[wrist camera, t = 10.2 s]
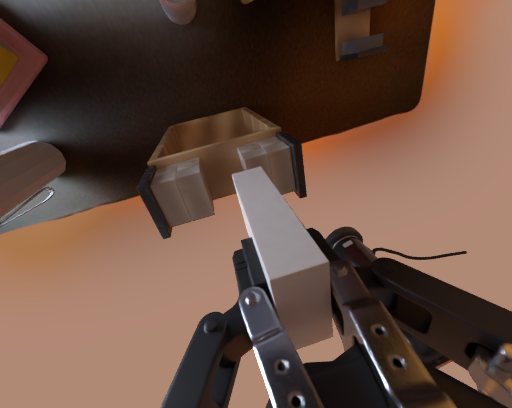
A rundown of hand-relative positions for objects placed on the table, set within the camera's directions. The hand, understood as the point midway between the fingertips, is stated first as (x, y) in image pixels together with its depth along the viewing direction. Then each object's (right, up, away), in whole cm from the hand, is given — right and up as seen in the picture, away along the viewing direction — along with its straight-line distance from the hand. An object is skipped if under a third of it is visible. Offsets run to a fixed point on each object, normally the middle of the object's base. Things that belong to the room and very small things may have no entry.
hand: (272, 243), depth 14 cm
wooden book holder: (-5, +7, +14) cm, 17 cm away
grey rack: (+17, +38, +28) cm, 50 cm away
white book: (-1, +3, +5) cm, 6 cm away
